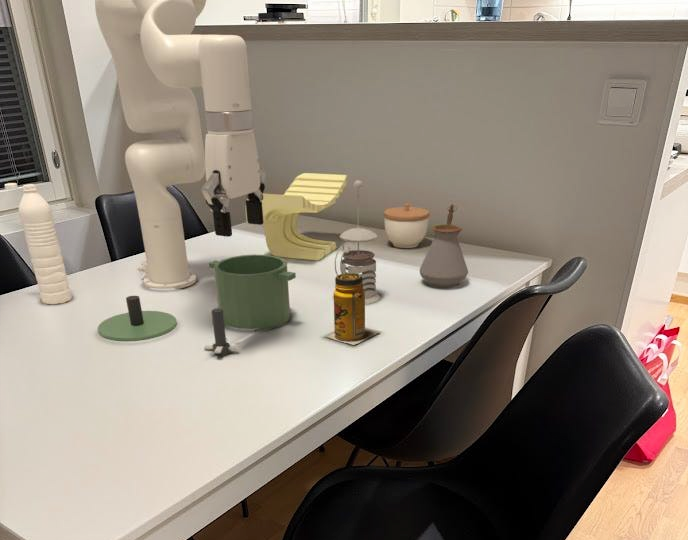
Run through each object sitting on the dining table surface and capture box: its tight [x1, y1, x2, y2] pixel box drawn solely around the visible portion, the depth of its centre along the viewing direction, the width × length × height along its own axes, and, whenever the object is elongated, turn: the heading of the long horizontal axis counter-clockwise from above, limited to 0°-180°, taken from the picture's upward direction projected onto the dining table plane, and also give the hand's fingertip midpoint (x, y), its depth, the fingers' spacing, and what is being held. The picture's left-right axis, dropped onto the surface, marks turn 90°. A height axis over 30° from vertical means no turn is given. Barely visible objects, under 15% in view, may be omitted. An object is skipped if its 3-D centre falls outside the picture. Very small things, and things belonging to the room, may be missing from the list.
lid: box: [97, 295, 178, 342], centre depth 137 cm, size 16×16×7 cm
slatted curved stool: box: [245, 172, 348, 261], centre depth 183 cm, size 30×16×18 cm, turn 159°
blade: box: [203, 307, 240, 357], centre depth 126 cm, size 6×6×8 cm
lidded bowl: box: [383, 203, 431, 249], centre depth 189 cm, size 13×13×11 cm
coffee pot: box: [419, 204, 469, 289], centre depth 162 cm, size 21×12×15 cm, turn 168°
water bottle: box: [4, 182, 73, 305], centre depth 149 cm, size 9×6×25 cm
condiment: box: [325, 272, 380, 346], centre depth 132 cm, size 7×8×12 cm
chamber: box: [208, 254, 297, 332], centre depth 141 cm, size 15×20×12 cm
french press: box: [334, 179, 381, 305], centre depth 147 cm, size 10×12×25 cm
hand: (240, 229), depth 121 cm, fingers open, 9 cm apart
